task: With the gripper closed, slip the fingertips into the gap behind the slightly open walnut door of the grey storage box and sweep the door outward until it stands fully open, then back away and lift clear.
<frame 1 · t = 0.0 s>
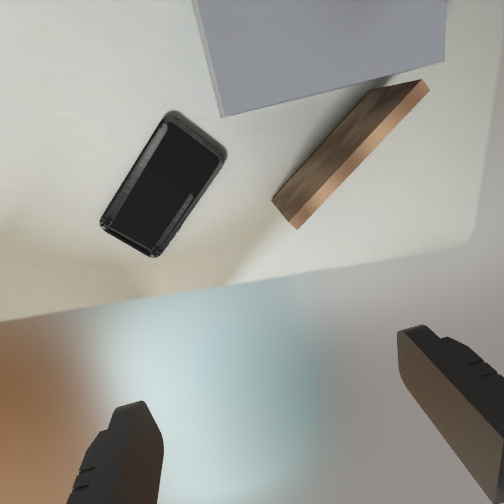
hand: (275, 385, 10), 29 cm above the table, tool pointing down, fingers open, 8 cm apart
phone: (163, 190, 36), on the table
storage box: (291, 33, 31), on the table
door: (339, 158, 32), point 5 cm above the table, hinge at 35.0°
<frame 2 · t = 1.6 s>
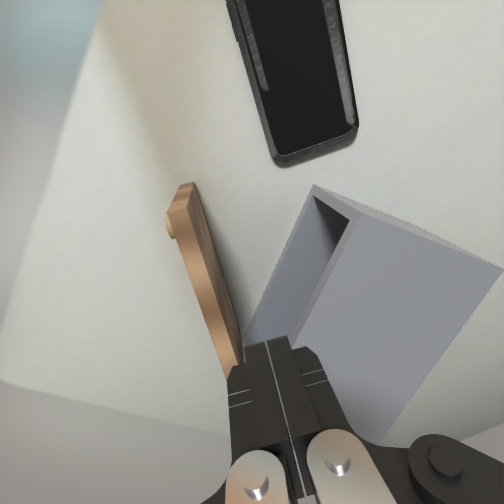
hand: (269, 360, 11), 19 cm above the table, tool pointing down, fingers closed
phone: (291, 55, 25), on the table
storage box: (326, 285, 32), on the table
door: (207, 289, 26), point 5 cm above the table, hinge at 35.0°
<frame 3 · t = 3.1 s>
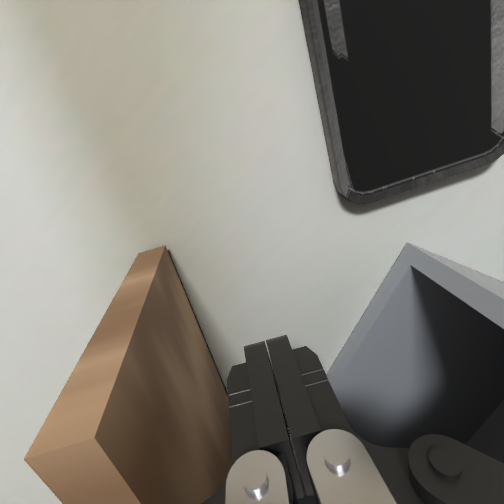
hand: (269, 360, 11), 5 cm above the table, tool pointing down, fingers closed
storage box: (405, 400, 19), on the table
door: (197, 471, 12), point 5 cm above the table, hinge at 38.1°, touching gripper
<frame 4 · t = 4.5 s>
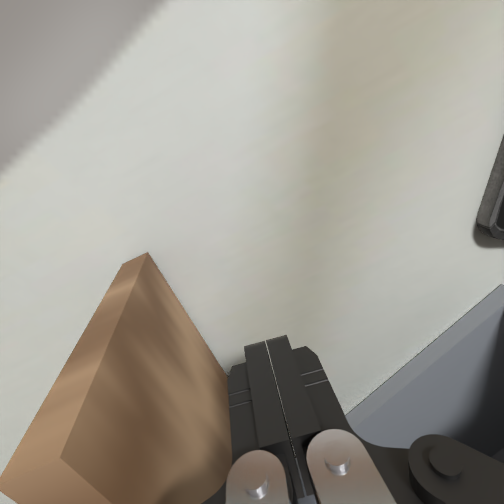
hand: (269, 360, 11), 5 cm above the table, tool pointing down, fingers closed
storage box: (430, 425, 21), on the table
door: (210, 470, 12), point 5 cm above the table, hinge at 66.8°, touching gripper, hand
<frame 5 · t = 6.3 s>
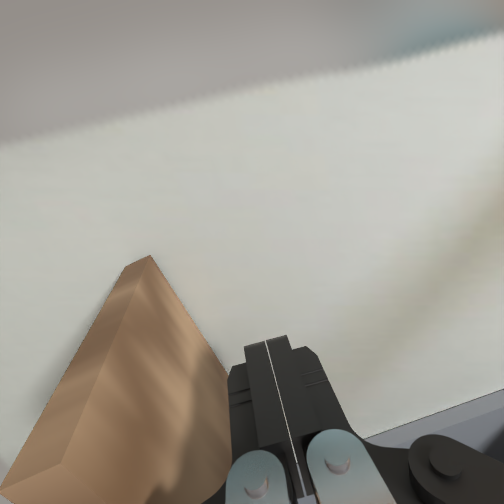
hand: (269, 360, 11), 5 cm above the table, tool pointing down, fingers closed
storage box: (411, 477, 23), on the table
door: (213, 472, 12), point 5 cm above the table, hinge at 95.9°, touching gripper, hand
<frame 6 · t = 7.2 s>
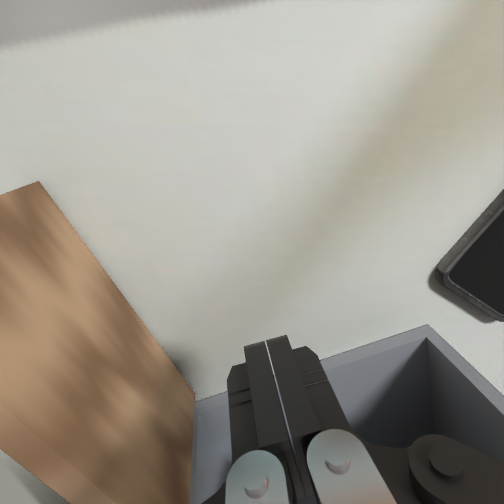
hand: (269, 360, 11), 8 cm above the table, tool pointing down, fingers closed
storage box: (324, 418, 25), on the table
door: (86, 370, 14), point 5 cm above the table, hinge at 96.1°
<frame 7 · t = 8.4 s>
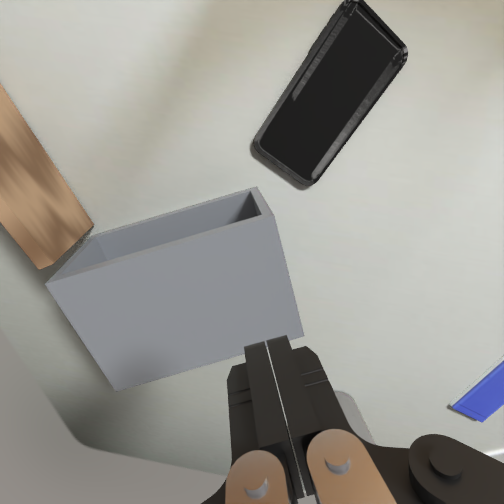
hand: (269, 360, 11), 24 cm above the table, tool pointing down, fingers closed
phone: (324, 100, 30), on the table
storage box: (193, 260, 35), on the table
door: (2, 160, 24), point 5 cm above the table, hinge at 96.1°
hard drive: (488, 382, 51), on the table
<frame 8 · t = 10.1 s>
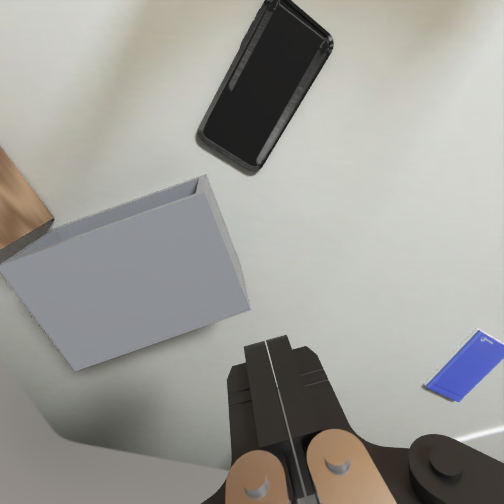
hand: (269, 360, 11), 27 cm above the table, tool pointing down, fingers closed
phone: (261, 90, 32), on the table
storage box: (153, 248, 37), on the table
hard drive: (462, 361, 52), on the table
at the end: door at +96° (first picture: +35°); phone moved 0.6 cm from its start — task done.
